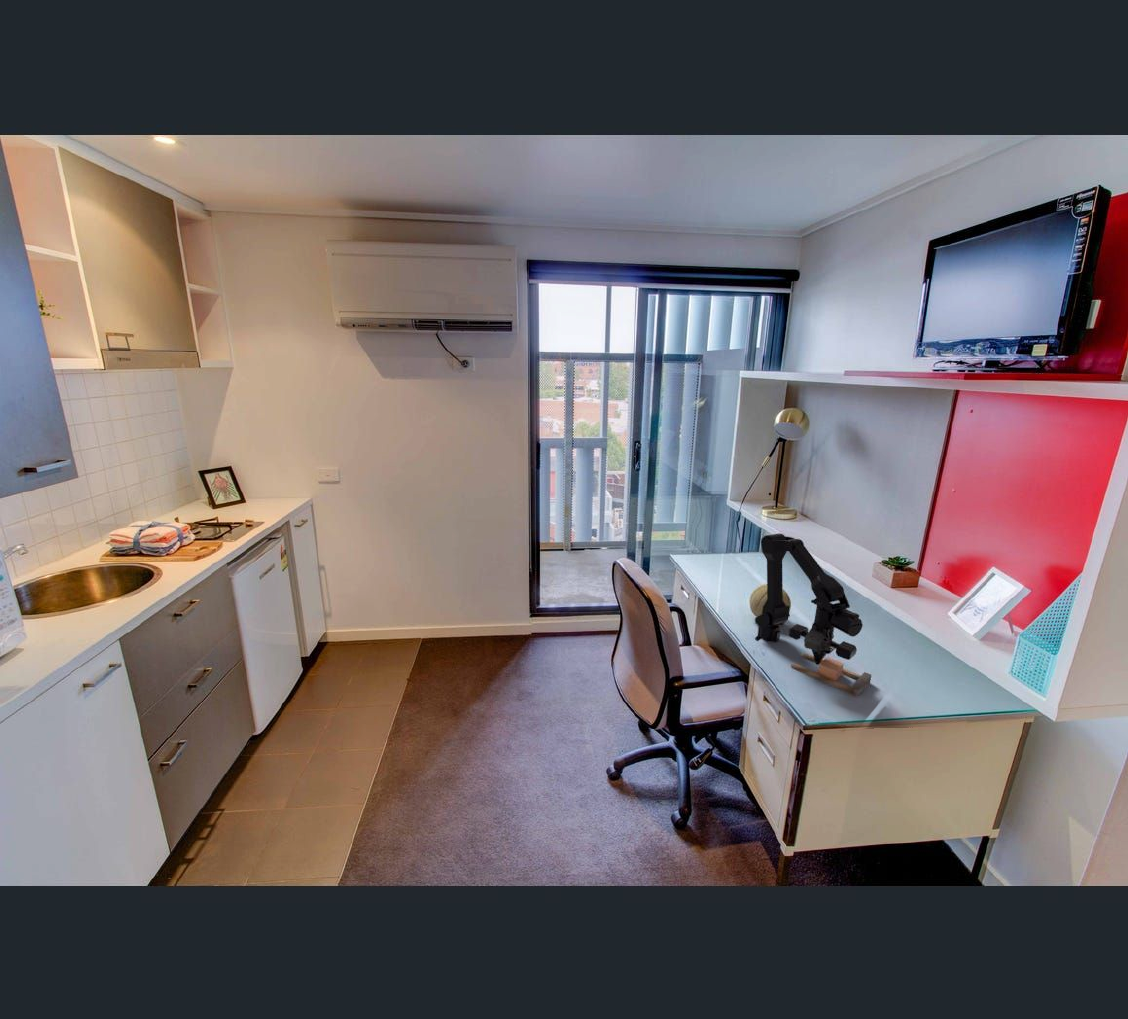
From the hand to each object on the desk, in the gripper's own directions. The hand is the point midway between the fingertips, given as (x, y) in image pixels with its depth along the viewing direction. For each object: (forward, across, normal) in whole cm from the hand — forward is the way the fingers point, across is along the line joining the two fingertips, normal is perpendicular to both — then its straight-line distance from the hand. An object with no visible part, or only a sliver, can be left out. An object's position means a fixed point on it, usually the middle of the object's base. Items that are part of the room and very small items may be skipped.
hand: (817, 664), depth 158 cm
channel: (+3, +4, 0) cm, 5 cm away
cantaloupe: (+3, -27, +21) cm, 35 cm away
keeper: (+2, +4, 0) cm, 4 cm away
